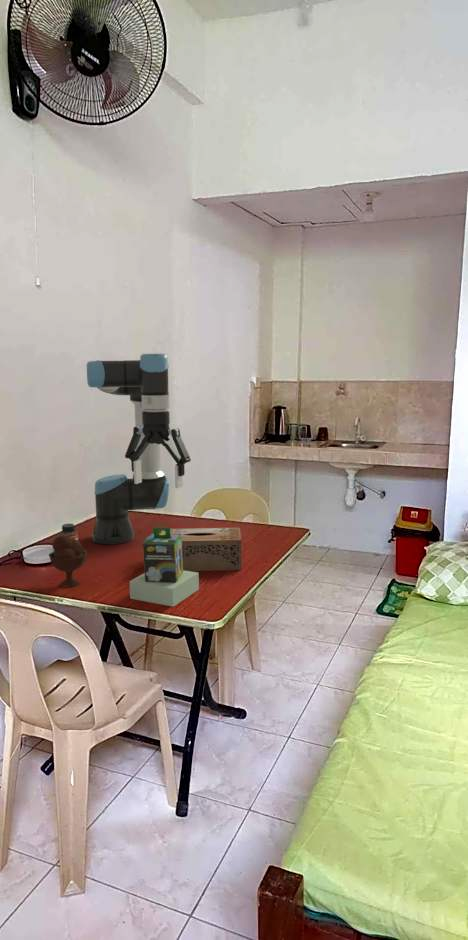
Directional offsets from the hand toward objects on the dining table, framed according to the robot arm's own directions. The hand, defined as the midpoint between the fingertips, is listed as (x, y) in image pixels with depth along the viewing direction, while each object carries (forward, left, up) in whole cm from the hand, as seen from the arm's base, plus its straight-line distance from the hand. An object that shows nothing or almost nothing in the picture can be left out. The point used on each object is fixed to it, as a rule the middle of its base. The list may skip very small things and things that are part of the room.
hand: (158, 485), depth 179 cm
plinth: (+4, -5, -30) cm, 31 cm away
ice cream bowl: (-26, -10, -30) cm, 41 cm away
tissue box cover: (0, +23, -31) cm, 38 cm away
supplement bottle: (-43, +10, -30) cm, 54 cm away
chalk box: (+4, -5, -25) cm, 26 cm away
